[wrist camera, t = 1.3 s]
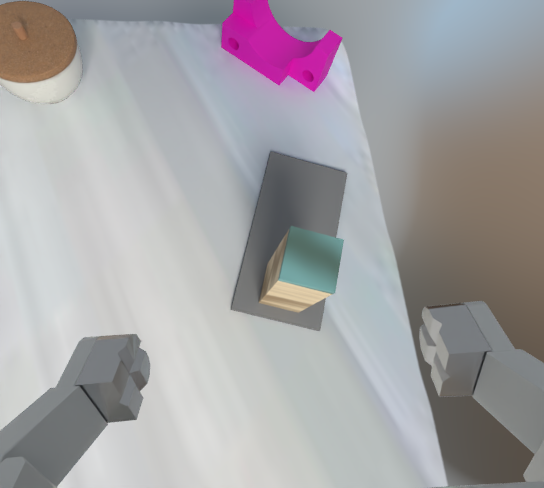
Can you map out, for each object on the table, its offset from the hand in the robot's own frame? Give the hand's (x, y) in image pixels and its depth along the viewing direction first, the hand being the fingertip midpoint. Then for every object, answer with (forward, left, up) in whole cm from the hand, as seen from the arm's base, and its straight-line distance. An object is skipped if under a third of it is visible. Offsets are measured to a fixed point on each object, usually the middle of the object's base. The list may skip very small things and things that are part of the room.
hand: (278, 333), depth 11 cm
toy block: (-40, +14, -36) cm, 56 cm away
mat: (-13, +11, -35) cm, 39 cm away
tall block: (-7, +8, -35) cm, 36 cm away
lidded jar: (-39, -17, -35) cm, 55 cm away
